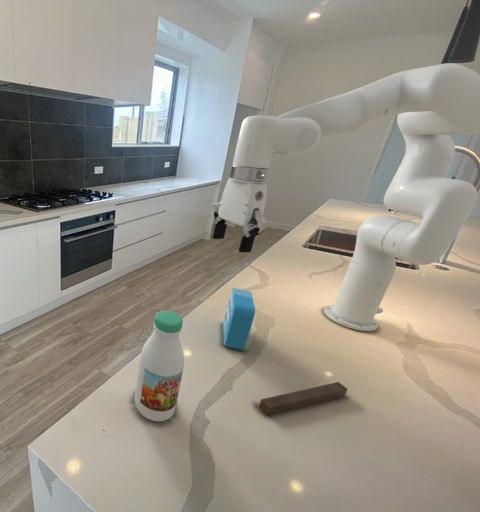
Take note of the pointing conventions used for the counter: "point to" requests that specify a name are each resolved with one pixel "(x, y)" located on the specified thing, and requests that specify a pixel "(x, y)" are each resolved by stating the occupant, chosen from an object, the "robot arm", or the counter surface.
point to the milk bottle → (160, 369)
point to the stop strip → (302, 398)
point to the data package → (238, 318)
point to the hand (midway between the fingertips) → (230, 244)
